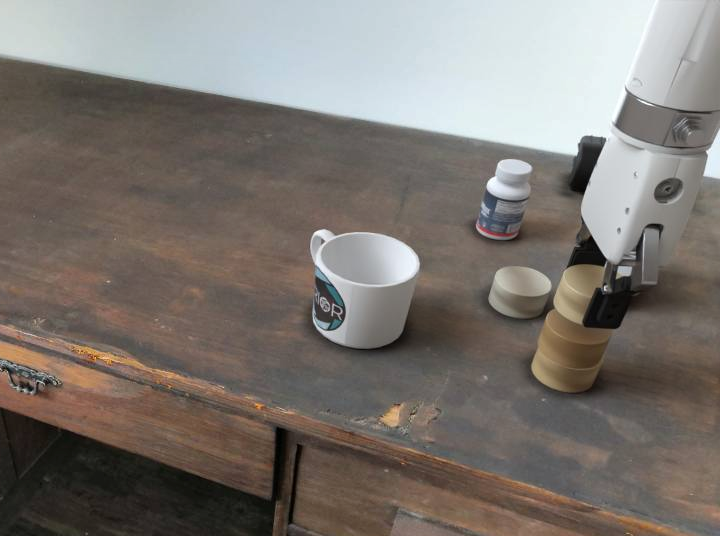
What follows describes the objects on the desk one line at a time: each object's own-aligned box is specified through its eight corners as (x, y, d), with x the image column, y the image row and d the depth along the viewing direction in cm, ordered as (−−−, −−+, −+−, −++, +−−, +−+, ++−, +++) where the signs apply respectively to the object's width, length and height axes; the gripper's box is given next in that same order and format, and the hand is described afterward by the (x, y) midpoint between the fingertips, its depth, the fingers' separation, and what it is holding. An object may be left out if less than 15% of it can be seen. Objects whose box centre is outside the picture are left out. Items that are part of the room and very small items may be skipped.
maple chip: (609, 292, 75) (620, 265, 73) (629, 329, 70) (642, 302, 68) (546, 288, 75) (555, 262, 73) (562, 325, 71) (573, 298, 69)
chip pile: (583, 355, 80) (603, 307, 76) (601, 394, 76) (623, 346, 72) (522, 351, 81) (539, 304, 77) (536, 391, 76) (555, 343, 72)
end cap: (566, 198, 106) (582, 151, 101) (564, 175, 111) (580, 129, 106) (645, 209, 104) (665, 162, 99) (639, 185, 109) (658, 139, 104)
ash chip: (536, 289, 89) (544, 267, 87) (549, 320, 85) (558, 297, 83) (483, 286, 90) (490, 264, 88) (494, 317, 85) (501, 294, 83)
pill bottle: (474, 218, 101) (491, 154, 96) (515, 222, 101) (535, 158, 95) (476, 238, 98) (494, 173, 92) (519, 243, 97) (540, 177, 91)
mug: (427, 328, 83) (442, 265, 78) (355, 364, 79) (367, 299, 73) (342, 272, 92) (350, 211, 86) (272, 301, 87) (277, 239, 82)
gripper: (767, 168, 54) (662, 366, 66) (674, 78, 67) (601, 257, 79) (657, 163, 54) (573, 361, 66) (586, 75, 67) (526, 253, 79)
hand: (589, 303), depth 72 cm, fingers closed on maple chip, 6 cm apart
